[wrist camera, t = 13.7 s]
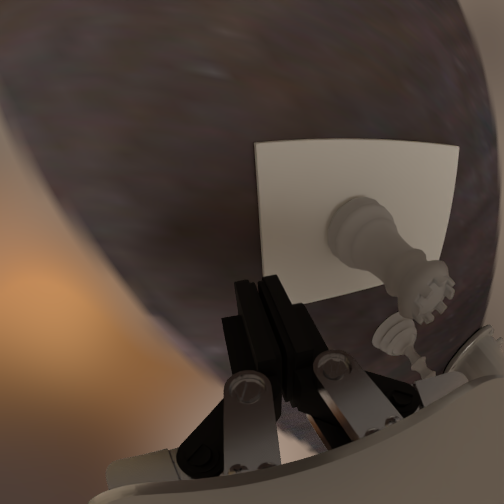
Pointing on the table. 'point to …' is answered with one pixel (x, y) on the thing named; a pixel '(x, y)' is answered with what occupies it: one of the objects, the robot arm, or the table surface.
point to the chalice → (401, 342)
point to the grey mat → (338, 194)
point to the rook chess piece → (389, 258)
